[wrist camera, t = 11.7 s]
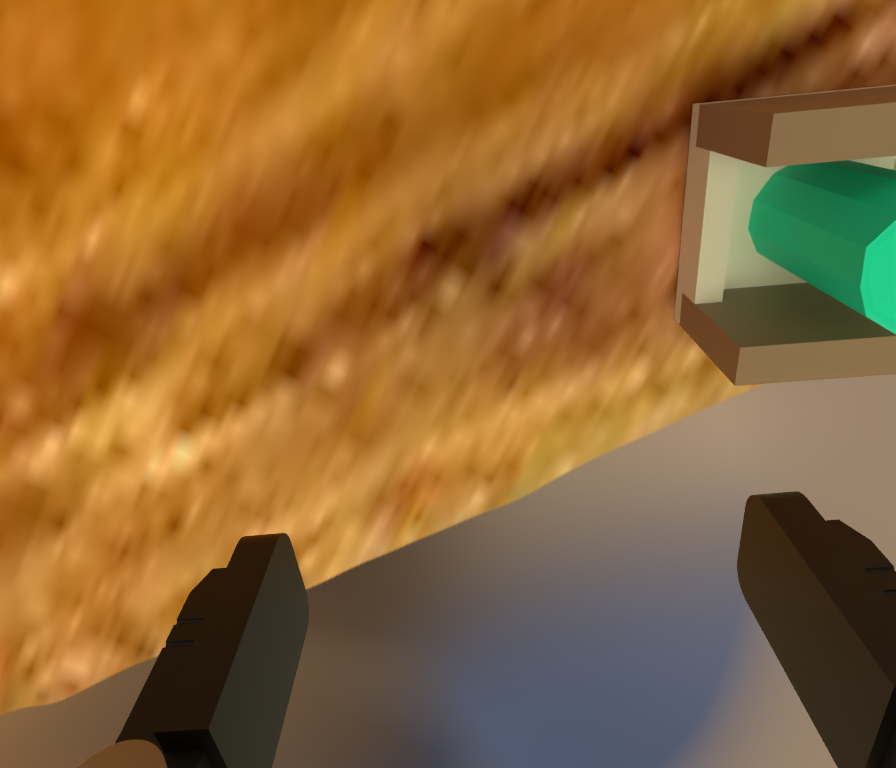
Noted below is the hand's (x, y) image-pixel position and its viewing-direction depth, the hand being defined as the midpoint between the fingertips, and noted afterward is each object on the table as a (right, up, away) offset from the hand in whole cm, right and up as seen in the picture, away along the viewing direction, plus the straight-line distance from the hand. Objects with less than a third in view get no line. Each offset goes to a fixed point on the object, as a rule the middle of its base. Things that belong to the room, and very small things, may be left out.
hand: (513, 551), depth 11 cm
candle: (+18, +12, +23) cm, 32 cm away
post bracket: (+18, +13, +23) cm, 32 cm away
